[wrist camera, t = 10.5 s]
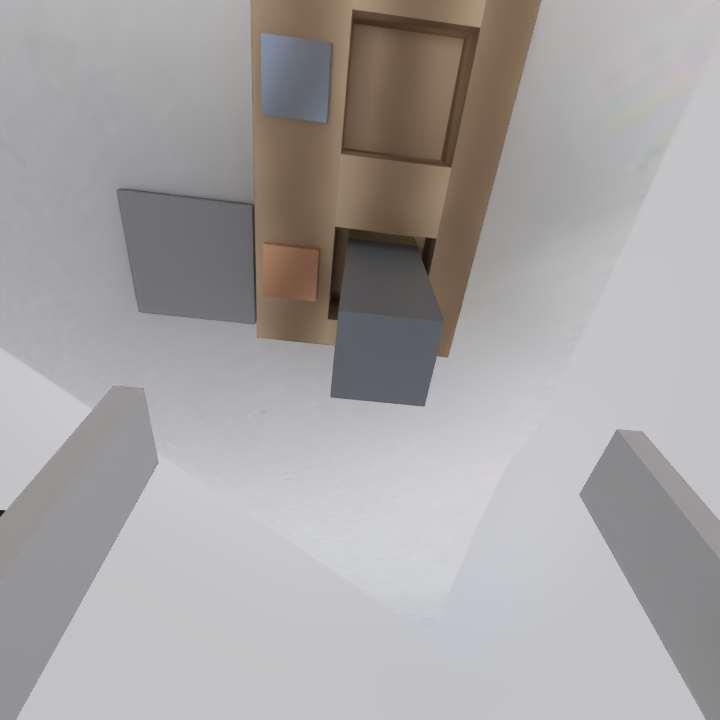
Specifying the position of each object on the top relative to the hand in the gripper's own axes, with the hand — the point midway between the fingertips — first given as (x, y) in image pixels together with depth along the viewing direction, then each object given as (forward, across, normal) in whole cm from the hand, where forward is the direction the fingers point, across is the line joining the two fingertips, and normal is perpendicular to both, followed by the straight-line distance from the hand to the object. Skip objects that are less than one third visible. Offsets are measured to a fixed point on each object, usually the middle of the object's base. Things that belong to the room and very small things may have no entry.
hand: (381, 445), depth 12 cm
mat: (+18, -11, -2) cm, 21 cm away
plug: (+17, +1, 0) cm, 17 cm away
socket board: (+18, 0, +4) cm, 18 cm away
